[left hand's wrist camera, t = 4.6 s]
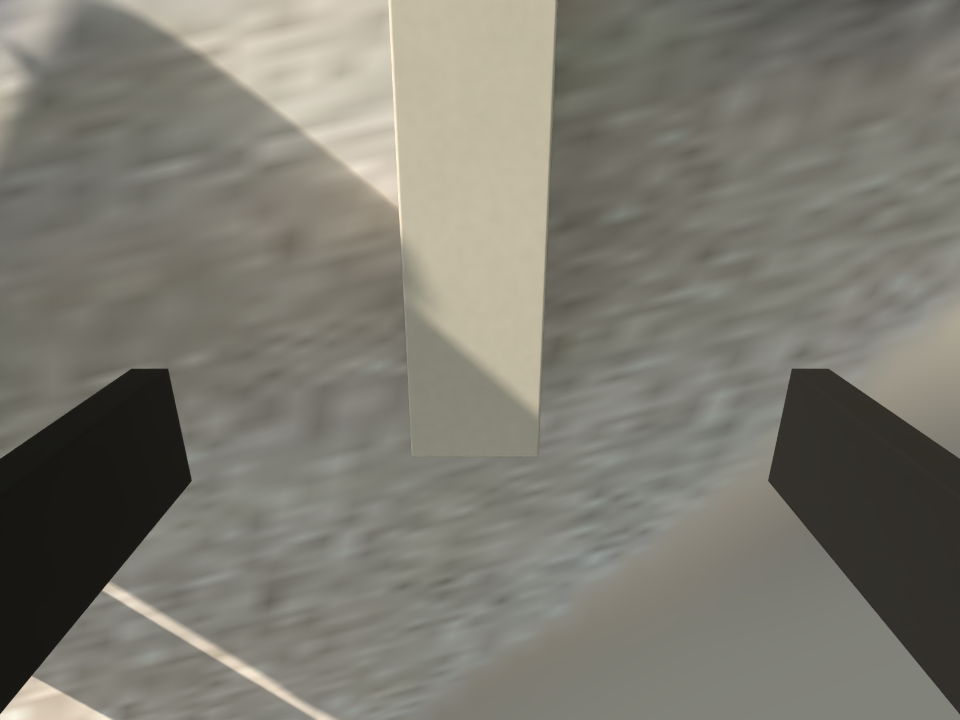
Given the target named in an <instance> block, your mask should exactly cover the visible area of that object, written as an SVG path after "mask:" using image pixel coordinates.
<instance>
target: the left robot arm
mask: <svg viewBox="0 0 960 720" xmlns="http://www.w3.org/2000/svg"><path fill="white" fill-rule="evenodd" d="M191 481H192V480H191V475H190V470H189V465H188V461H187V456H186V451H185V447H184V442H183V437H182V433H181V428H180V423H179V418H178V414H177V409H176V404H175V400H174V395H173V390H172V385H171V381H170V376H169V371H168V369H131V370H129V371H128V372H126V373H125V374H123V375H122V376H120V377H119V378H117V379H116V380H115V381H113V382H112V383H110V384H109V385H107V386H106V387H104V388H103V389H101V390H100V391H98V392H97V393H96V394H94V395H93V396H91V397H90V398H88V399H87V400H85V401H84V402H82V403H81V404H80V405H78V406H77V407H75V408H74V409H72V410H71V411H69V412H68V413H66V414H65V415H64V416H62V417H61V418H59V419H58V420H56V421H55V422H53V423H52V424H50V425H49V426H47V427H46V428H45V429H43V430H42V431H40V432H39V433H37V434H36V435H34V436H33V437H31V438H30V439H29V440H27V441H26V442H24V443H23V444H21V445H20V446H18V447H17V448H15V449H14V450H12V451H11V452H10V453H8V454H7V455H5V456H4V457H2V458H1V459H0V714H1V712H2V711H3V710H4V709H5V708H6V706H7V705H8V704H9V703H10V702H11V700H12V699H13V698H14V697H15V695H16V694H17V693H18V692H19V691H20V689H21V688H22V687H23V686H24V684H25V683H26V682H27V681H28V680H29V678H30V677H31V676H32V675H33V674H34V672H35V671H36V670H37V669H38V667H39V666H40V665H41V664H42V663H43V661H44V660H45V659H46V658H47V656H48V655H49V654H50V653H51V652H52V650H53V649H54V648H55V647H56V645H57V644H58V643H59V642H60V641H61V639H62V638H63V637H64V636H65V635H66V633H67V632H68V631H69V630H70V628H71V627H72V626H73V625H74V624H75V622H76V621H77V620H78V619H79V617H80V616H81V615H82V614H83V613H84V611H85V610H86V609H87V608H88V607H89V605H90V604H91V603H92V602H93V600H94V599H95V598H96V597H97V596H98V594H99V593H100V592H101V591H102V589H103V588H104V587H105V586H106V585H107V583H108V582H109V581H110V580H111V579H112V577H113V576H114V575H115V574H116V572H117V571H118V570H119V569H120V568H121V566H122V565H123V564H124V563H125V561H126V560H127V559H128V558H129V557H130V555H131V554H132V553H133V552H134V551H135V549H136V548H137V547H138V546H139V544H140V543H141V542H142V541H143V540H144V538H145V537H146V536H147V535H148V533H149V532H150V531H151V530H152V529H153V527H154V526H155V525H156V524H157V522H158V521H159V520H160V519H161V518H162V516H163V515H164V514H165V513H166V512H167V510H168V509H169V508H170V507H171V505H172V504H173V503H174V502H175V501H176V499H177V498H178V497H179V496H180V494H181V493H182V492H183V491H184V490H185V488H186V487H187V486H188V485H189V484H190V482H191ZM768 481H769V482H770V484H771V485H772V486H773V487H774V488H775V490H776V491H777V492H778V493H779V494H780V496H781V497H782V498H783V499H784V500H785V502H786V503H787V504H788V505H789V507H790V508H791V509H792V510H793V511H794V513H795V514H796V515H797V516H798V518H799V519H800V520H801V521H802V522H803V524H804V525H805V526H806V527H807V529H808V530H809V531H810V532H811V533H812V535H813V536H814V537H815V538H816V540H817V541H818V542H819V543H820V544H821V546H822V547H823V548H824V549H825V551H826V552H827V553H828V554H829V555H830V557H831V558H832V559H833V560H834V561H835V563H836V564H837V565H838V566H839V568H840V569H841V570H842V571H843V572H844V574H845V575H846V576H847V577H848V578H849V580H850V581H851V582H852V583H853V585H854V586H855V587H856V588H857V589H858V591H859V592H860V593H861V594H862V596H863V597H864V598H865V599H866V600H867V602H868V603H869V604H870V605H871V607H872V608H873V609H874V610H875V611H876V613H877V614H878V615H879V616H880V617H881V619H882V620H883V621H884V622H885V624H886V625H887V626H888V627H889V628H890V630H891V631H892V632H893V633H894V634H895V636H896V637H897V638H898V639H899V641H900V642H901V643H902V644H903V645H904V647H905V648H906V649H907V650H908V651H909V653H910V654H911V655H912V656H913V658H914V659H915V660H916V661H917V663H918V664H919V665H920V666H921V667H922V669H923V670H924V671H925V672H926V674H927V675H928V676H929V677H930V678H931V680H932V681H933V682H934V683H935V684H936V686H937V687H938V688H939V689H940V691H941V692H942V693H943V694H944V695H945V697H946V698H947V699H948V700H949V701H950V703H951V704H952V705H953V706H954V708H955V709H956V710H957V711H958V712H959V714H960V459H959V458H958V457H956V456H955V455H953V454H952V453H950V452H949V451H948V450H946V449H945V448H943V447H942V446H940V445H939V444H937V443H936V442H934V441H933V440H931V439H930V438H929V437H927V436H926V435H924V434H923V433H921V432H920V431H918V430H917V429H915V428H914V427H912V426H911V425H910V424H908V423H907V422H905V421H904V420H902V419H901V418H899V417H898V416H896V415H895V414H894V413H892V412H891V411H889V410H888V409H886V408H885V407H883V406H882V405H880V404H879V403H878V402H876V401H875V400H873V399H872V398H870V397H869V396H867V395H866V394H864V393H863V392H862V391H860V390H859V389H857V388H856V387H854V386H853V385H851V384H850V383H848V382H847V381H845V380H844V379H843V378H841V377H840V376H838V375H837V374H835V373H834V372H832V371H831V370H829V369H792V371H791V376H790V381H789V385H788V390H787V395H786V400H785V404H784V409H783V414H782V418H781V423H780V428H779V433H778V437H777V442H776V447H775V451H774V456H773V461H772V465H771V470H770V475H769V480H768Z"/></svg>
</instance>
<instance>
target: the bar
mask: <svg viewBox="0 0 960 720" xmlns="http://www.w3.org/2000/svg"><path fill="white" fill-rule="evenodd" d="M557 12H558V0H389V19H390V39H391V59H392V79H393V99H394V119H395V139H396V159H397V179H398V199H399V219H400V239H401V259H402V279H403V299H404V319H405V339H406V358H407V378H408V398H409V418H410V438H411V455H412V456H413V457H536V456H538V454H539V432H540V409H541V386H542V362H543V339H544V316H545V292H546V269H547V246H548V222H549V199H550V176H551V152H552V129H553V106H554V82H555V59H556V36H557Z"/></svg>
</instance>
